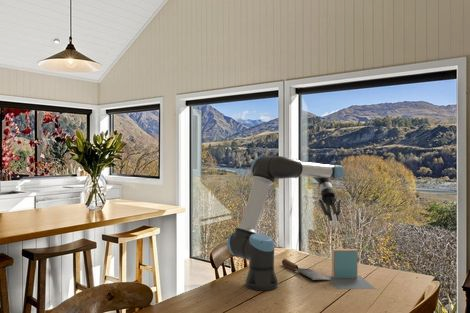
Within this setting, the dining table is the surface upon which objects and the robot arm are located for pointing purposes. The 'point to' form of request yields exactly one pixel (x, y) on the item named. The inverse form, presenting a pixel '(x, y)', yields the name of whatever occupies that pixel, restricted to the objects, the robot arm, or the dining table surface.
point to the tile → (344, 263)
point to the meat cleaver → (304, 271)
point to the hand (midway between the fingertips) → (335, 225)
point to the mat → (350, 283)
